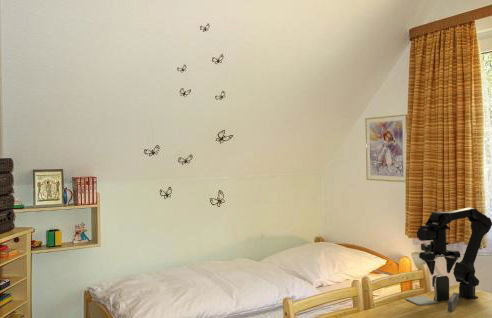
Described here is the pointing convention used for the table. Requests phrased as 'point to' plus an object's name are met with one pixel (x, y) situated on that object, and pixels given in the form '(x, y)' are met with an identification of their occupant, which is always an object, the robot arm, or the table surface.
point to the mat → (421, 300)
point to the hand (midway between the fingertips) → (440, 273)
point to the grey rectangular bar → (452, 301)
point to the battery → (441, 287)
